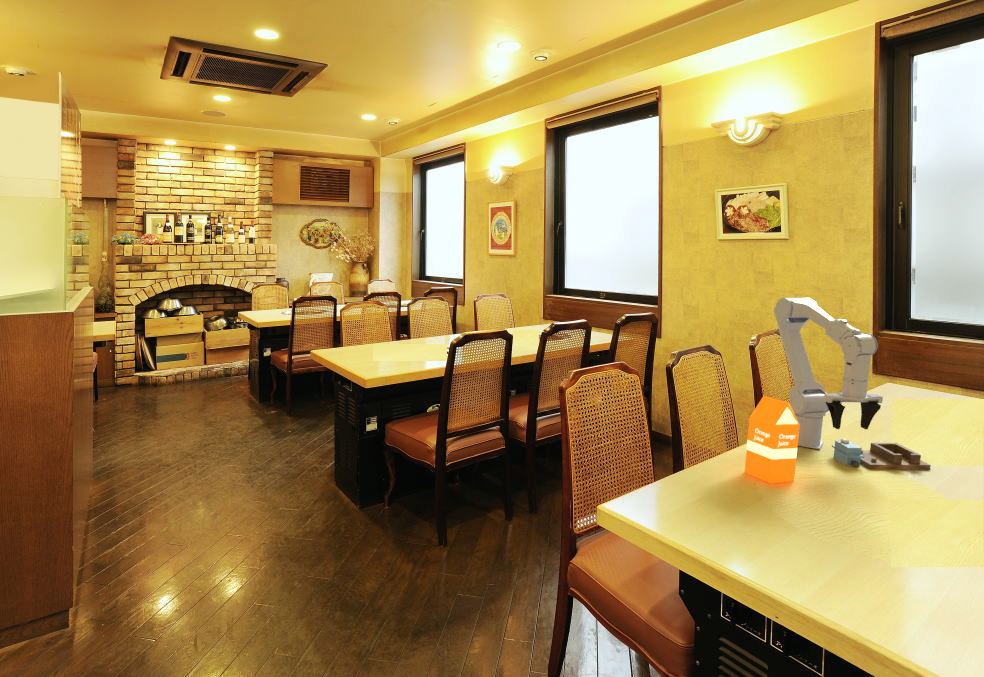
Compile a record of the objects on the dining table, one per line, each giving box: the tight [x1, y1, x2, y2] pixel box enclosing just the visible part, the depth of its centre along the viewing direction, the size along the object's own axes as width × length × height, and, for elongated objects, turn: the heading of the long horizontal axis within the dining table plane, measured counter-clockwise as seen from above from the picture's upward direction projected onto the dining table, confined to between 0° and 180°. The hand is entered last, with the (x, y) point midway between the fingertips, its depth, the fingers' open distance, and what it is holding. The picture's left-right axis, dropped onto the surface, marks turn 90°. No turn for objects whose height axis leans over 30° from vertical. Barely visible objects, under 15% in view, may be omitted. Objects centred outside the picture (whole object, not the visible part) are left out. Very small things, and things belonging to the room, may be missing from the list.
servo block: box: [831, 438, 864, 467], centre depth 163 cm, size 9×4×6 cm, turn 0°
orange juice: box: [744, 395, 800, 484], centre depth 151 cm, size 8×9×20 cm
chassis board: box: [860, 442, 932, 470], centre depth 163 cm, size 16×11×4 cm
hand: (850, 428), depth 162 cm, fingers open, 7 cm apart
